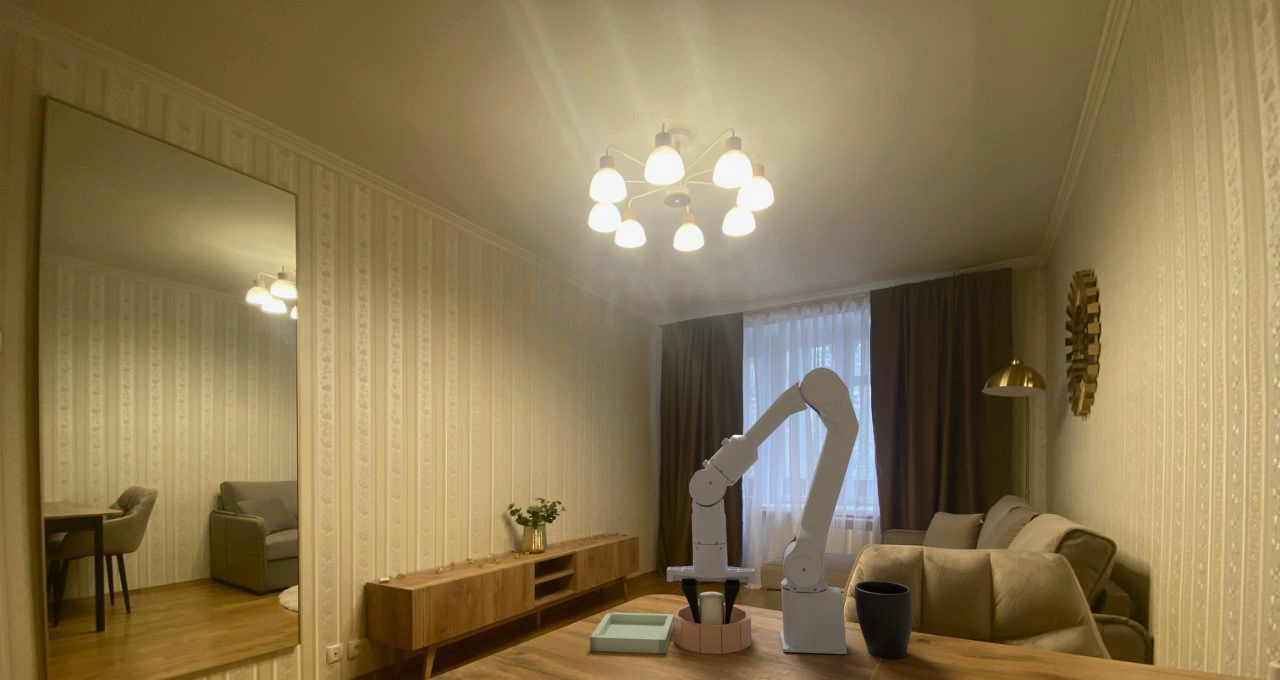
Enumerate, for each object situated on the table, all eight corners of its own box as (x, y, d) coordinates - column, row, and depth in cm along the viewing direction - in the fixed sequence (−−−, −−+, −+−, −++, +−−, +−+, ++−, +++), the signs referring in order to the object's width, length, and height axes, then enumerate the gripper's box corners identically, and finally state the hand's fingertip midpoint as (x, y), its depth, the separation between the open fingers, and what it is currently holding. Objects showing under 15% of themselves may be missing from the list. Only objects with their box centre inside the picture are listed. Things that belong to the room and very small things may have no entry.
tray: (674, 626, 106) (673, 614, 107) (665, 653, 94) (665, 639, 94) (607, 623, 108) (607, 612, 109) (590, 650, 96) (590, 637, 96)
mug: (904, 636, 99) (899, 575, 101) (922, 664, 88) (916, 595, 89) (852, 633, 101) (848, 574, 103) (862, 660, 90) (858, 593, 91)
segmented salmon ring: (750, 628, 105) (749, 603, 105) (752, 655, 92) (751, 627, 93) (678, 625, 107) (677, 601, 107) (670, 652, 94) (669, 624, 95)
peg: (725, 635, 101) (723, 592, 102) (724, 644, 97) (723, 598, 98) (701, 635, 102) (699, 591, 103) (699, 643, 98) (698, 598, 99)
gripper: (752, 537, 105) (756, 620, 103) (669, 537, 107) (671, 618, 105) (753, 545, 98) (757, 634, 96) (664, 544, 100) (666, 631, 98)
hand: (712, 627), depth 100 cm, fingers open, 4 cm apart
